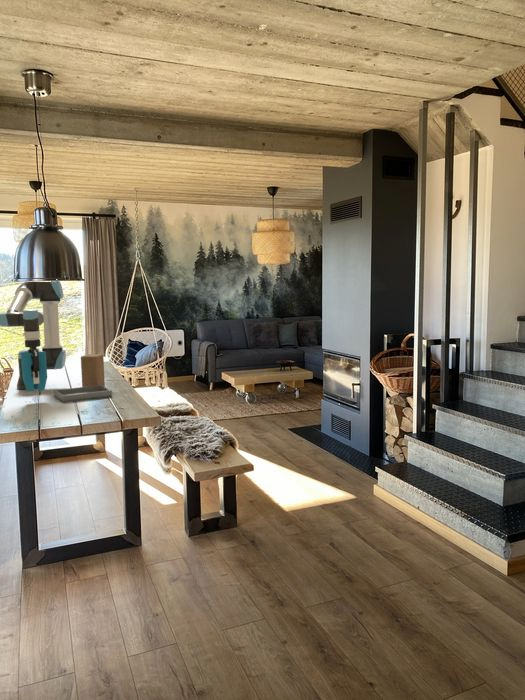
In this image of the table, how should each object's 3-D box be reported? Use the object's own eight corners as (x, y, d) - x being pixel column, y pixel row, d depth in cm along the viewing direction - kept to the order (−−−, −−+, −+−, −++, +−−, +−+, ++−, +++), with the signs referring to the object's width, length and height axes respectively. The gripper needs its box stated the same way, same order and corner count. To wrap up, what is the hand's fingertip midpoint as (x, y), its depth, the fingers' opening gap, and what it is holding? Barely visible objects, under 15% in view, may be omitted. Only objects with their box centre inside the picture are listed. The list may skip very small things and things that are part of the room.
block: (47, 387, 301) (45, 351, 298) (48, 389, 296) (45, 352, 293) (23, 389, 296) (20, 352, 293) (23, 391, 291) (21, 353, 288)
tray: (54, 396, 309) (53, 390, 309) (100, 390, 323) (100, 385, 323) (63, 402, 292) (63, 396, 292) (112, 396, 307) (111, 390, 306)
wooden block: (97, 390, 325) (95, 356, 323) (81, 389, 327) (79, 356, 325) (105, 387, 335) (103, 354, 332) (90, 386, 337) (88, 353, 334)
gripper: (21, 338, 298) (24, 380, 301) (28, 341, 283) (31, 386, 286) (36, 337, 302) (38, 379, 305) (43, 340, 287) (46, 384, 290)
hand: (35, 382), depth 295 cm, fingers closed on block, 5 cm apart
